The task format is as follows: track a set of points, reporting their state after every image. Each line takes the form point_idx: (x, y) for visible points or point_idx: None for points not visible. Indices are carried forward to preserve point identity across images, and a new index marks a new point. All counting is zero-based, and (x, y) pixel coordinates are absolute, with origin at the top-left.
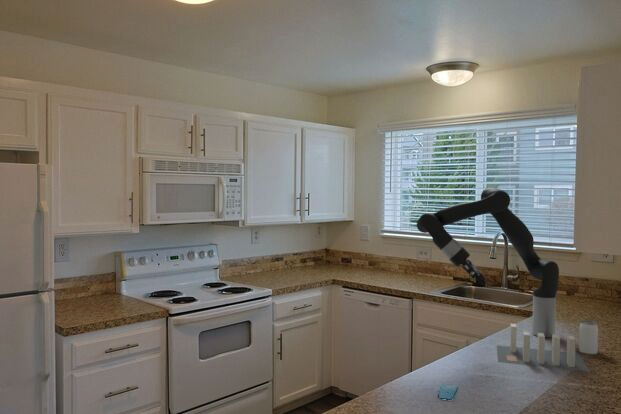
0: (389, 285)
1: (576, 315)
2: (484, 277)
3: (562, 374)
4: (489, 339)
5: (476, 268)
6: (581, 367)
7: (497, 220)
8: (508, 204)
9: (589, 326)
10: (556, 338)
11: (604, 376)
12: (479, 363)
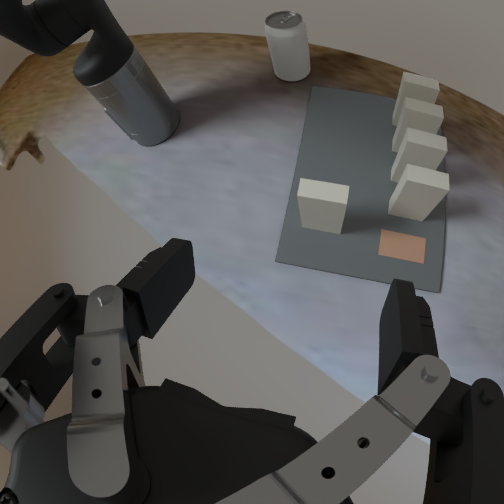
0: None
1: (60, 80)
2: (179, 247)
3: (467, 162)
4: (200, 267)
5: (121, 338)
6: None
7: None
8: None
9: (302, 24)
10: (443, 114)
11: (444, 96)
12: (445, 344)
